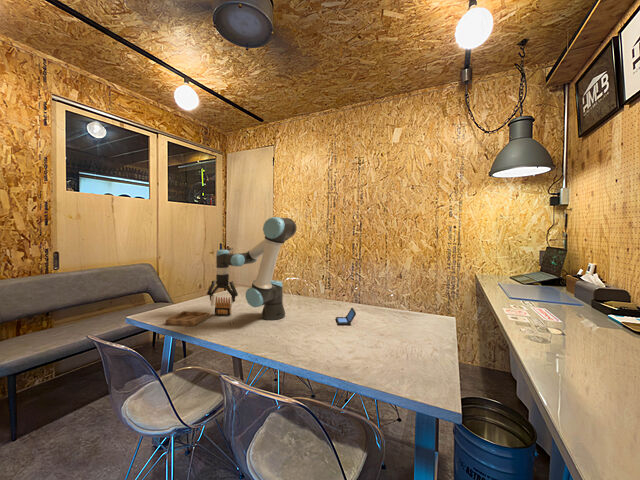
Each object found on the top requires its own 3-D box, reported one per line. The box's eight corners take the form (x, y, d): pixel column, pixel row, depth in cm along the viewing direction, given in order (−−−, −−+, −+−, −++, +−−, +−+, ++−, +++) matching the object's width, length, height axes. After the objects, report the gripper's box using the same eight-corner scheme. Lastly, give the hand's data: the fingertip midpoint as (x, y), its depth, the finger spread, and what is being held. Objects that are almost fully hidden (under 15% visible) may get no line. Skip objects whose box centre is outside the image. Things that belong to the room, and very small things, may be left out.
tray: (209, 317, 163) (209, 312, 163) (194, 326, 147) (194, 321, 147) (183, 315, 166) (183, 311, 166) (165, 324, 150) (165, 319, 150)
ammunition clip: (231, 315, 168) (231, 296, 167) (229, 316, 166) (229, 297, 165) (216, 314, 169) (215, 296, 169) (214, 315, 167) (214, 296, 167)
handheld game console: (335, 318, 163) (335, 307, 163) (352, 318, 163) (352, 306, 163) (337, 326, 150) (337, 313, 150) (356, 325, 151) (356, 313, 151)
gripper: (243, 273, 169) (243, 305, 169) (207, 271, 172) (207, 303, 173) (238, 275, 161) (238, 309, 162) (201, 273, 164) (201, 306, 165)
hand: (222, 306), depth 167 cm, fingers open, 13 cm apart
